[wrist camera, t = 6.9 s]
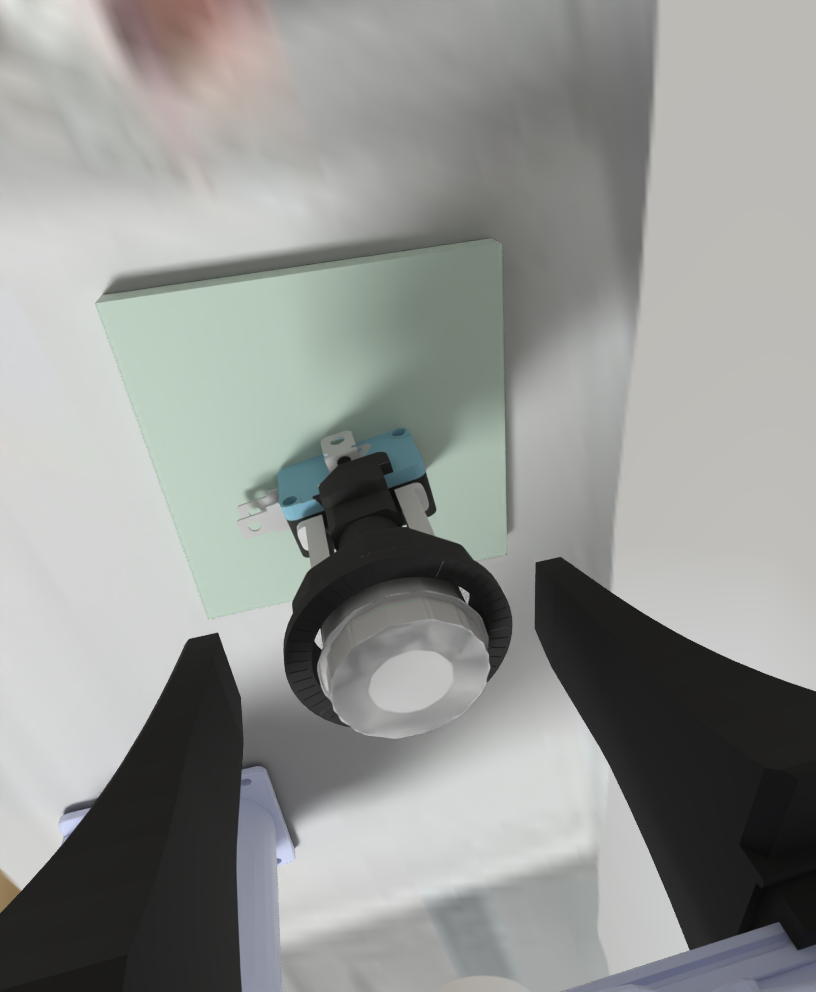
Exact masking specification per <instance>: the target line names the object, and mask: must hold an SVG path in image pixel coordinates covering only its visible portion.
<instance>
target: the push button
mask: <svg viewBox="0 0 816 992" xmlns="http://www.w3.org/2000/svg"><path fill="white" fill-rule="evenodd" d="M338 439H344V441H343V442H342V443H340V444H337V445H331V443H332V442H333V441H335V440H338ZM320 442H321V446H322V451H323V455H320V456H317V457H314V458H311V459H308V460H305V461H302V462H299V463H296V464H294V465H291V466H288V467H285V468H283V469H281V470H280V471H279V472H278V474H277V477H278V488H276V489H273V490H270V491H267V492H265V494H266V496H265V497H262V498H259V499H256V500H253V501H250V502H247V503H244V504H241V505H238V507H237V510H238V512H239V514H240V516H241V518H242V519H239V520H238V521H237V526H238V528H239V530H240V532H241V534H242V535H243V537H244V539H250V538H253V537H256V536H259V535H262V534H265V533H268V532H271V531H274V530H277V532H278V533H280V532H283V531H285V530H288V529H291V531H292V533H293V535H294V538H295V540H296V542H297V544H298V547H299V549H300V551H301V553H302V555H303V557H306V558H310V563H311V569H310V570H309V571H308V572H307V573H306V575H305V577H304V579H303V581H302V583H301V585H300V587H299V589H298V591H297V593H296V595H295V597H294V599H293V602H292V608H293V614H292V616H291V618H290V621H289V623H288V626H287V629H286V632H285V638H284V665H285V672H286V676H287V680H288V682H289V684H290V687H291V689H292V690H293V692H294V694H295V695H296V697H297V698H298V699H299V700H300V701H301V702H302V703H303V704H304V705H305V706H306V707H307V708H308V709H309V710H311V711H312V712H314V713H315V714H316V715H318V716H320V717H322V718H324V719H326V720H328V721H330V722H333V723H336V724H339V725H342V726H346V727H351V728H353V729H354V730H355V731H356V732H360V733H363V734H364V735H368V736H377V737H385V738H390V739H394V738H395V739H398V738H403V737H408V736H413V735H418V734H422V733H427V732H431V731H433V730H435V729H437V728H439V727H441V726H442V725H444V724H446V723H448V722H450V721H452V720H454V719H455V718H457V717H459V716H461V715H462V714H463V713H464V712H465V711H466V710H467V709H468V708H469V706H470V705H471V704H472V703H473V702H474V701H475V700H476V699H477V698H478V697H479V695H480V694H481V693H482V691H483V688H484V687H485V686H486V683H487V682H488V681H489V680H490V679H491V677H492V676H493V675H494V673H495V672H496V671H497V669H498V668H499V666H500V664H501V663H502V661H503V659H504V657H505V655H506V653H507V650H508V647H509V644H510V640H511V635H512V615H511V610H510V606H509V604H508V601H507V599H506V597H505V595H504V593H503V591H502V589H501V588H500V586H499V584H498V582H497V581H496V580H495V578H494V577H493V576H492V574H491V573H490V572H489V571H488V570H486V569H485V568H484V567H483V566H482V565H480V564H479V563H478V562H476V561H474V560H473V558H472V557H471V556H470V555H469V553H468V552H467V551H466V549H465V548H464V547H463V546H462V545H461V544H458V543H455V542H452V541H449V540H446V539H443V538H439V537H436V536H435V534H434V531H433V529H432V527H431V525H430V523H429V520H428V518H427V517H430V516H432V515H433V514H435V512H436V510H437V509H436V505H435V502H434V498H433V495H432V491H431V488H430V484H429V480H428V477H427V473H426V470H425V466H424V463H423V459H422V456H421V454H420V452H419V450H418V448H417V447H416V445H415V443H414V441H413V439H412V437H411V435H410V433H409V431H408V429H406V428H398V429H394V430H391V431H388V433H385V434H382V435H379V436H376V437H373V438H370V439H367V440H364V441H362V442H359V443H356V444H355V441H354V438H353V435H352V432H351V431H343V432H340V433H337V434H334V435H331V436H328V437H325V438H324V439H323V440H321V441H320ZM251 507H258V508H259V509H260V510H261V512H260V513H257V514H254V515H251V514H249V512H248V511H249V509H250V508H251ZM257 521H258V522H259V523H260V524H261V527H260V529H258V530H251V529H250V528H249V524H251V523H254V522H257ZM404 525H407V527H402V526H404ZM335 549H336V552H335V553H334V550H335ZM458 586H459V587H461V588H463V589H465V590H466V591H467V592H469V593H470V598H469V603H468V605H467V604H466V602H465V600H464V598H463V596H462V594H461V591H460V589H459V587H458ZM319 629H321V636H322V642H323V649H322V650H321V649H320V648H319V647H318V646H317V645H316V643H315V642H314V640H315V637H316V635H317V633H318V631H319Z"/></svg>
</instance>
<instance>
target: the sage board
mask: <svg viewBox="0 0 816 992" xmlns="http://www.w3.org/2000/svg"><path fill="white" fill-rule="evenodd" d="M95 305H96V308H97V311H98V314H99V316H100V319H101V322H102V325H103V328H104V330H105V333H106V336H107V339H108V342H109V344H110V347H111V350H112V353H113V355H114V358H115V361H116V364H117V367H118V369H119V372H120V375H121V378H122V381H123V383H124V386H125V389H126V392H127V395H128V397H129V400H130V403H131V406H132V408H133V411H134V414H135V417H136V420H137V422H138V425H139V428H140V431H141V434H142V436H143V439H144V442H145V445H146V448H147V450H148V453H149V456H150V459H151V461H152V464H153V467H154V470H155V473H156V475H157V478H158V481H159V484H160V487H161V489H162V492H163V495H164V498H165V500H166V503H167V506H168V509H169V512H170V514H171V517H172V520H173V523H174V526H175V528H176V531H177V534H178V537H179V540H180V542H181V545H182V548H183V551H184V553H185V556H186V559H187V562H188V565H189V567H190V570H191V573H192V576H193V579H194V581H195V584H196V587H197V590H198V593H199V595H200V598H201V601H202V604H203V606H204V609H205V612H206V615H207V618H208V619H213V618H218V617H222V616H227V615H231V614H236V613H241V612H245V611H250V610H254V609H259V608H264V607H268V606H273V605H277V604H282V603H287V602H291V601H293V599H294V597H295V595H296V593H297V591H298V589H299V587H300V585H301V583H302V581H303V579H304V577H305V575H306V573H307V572H308V571H309V570H310V569H311V563H310V558H306V557H303V555H302V553H301V551H300V549H299V547H298V544H297V542H296V540H295V538H294V535H293V533H292V531H291V529H288V530H285V531H283V532H280V533H278V532H277V530H274V531H271V532H268V533H265V534H262V535H259V536H256V537H253V538H250V539H244V537H243V535H242V534H241V532H240V530H239V528H238V526H237V521H238V520H239V519H242V518H241V516H240V514H239V512H238V510H237V507H238V505H241V504H244V503H247V502H250V501H253V500H256V499H259V498H262V497H265V496H266V494H265V492H267V491H270V490H273V489H276V488H278V477H277V474H278V472H279V471H280V470H281V469H283V468H285V467H288V466H291V465H294V464H296V463H299V462H302V461H305V460H308V459H311V458H314V457H317V456H320V455H323V451H322V446H321V442H320V441H321V440H323V439H324V438H325V437H328V436H331V435H334V434H337V433H340V432H343V431H351V432H352V435H353V438H354V441H355V444H356V443H359V442H362V441H364V440H367V439H370V438H373V437H376V436H379V435H382V434H385V433H388V431H391V430H394V429H398V428H406V429H408V431H409V433H410V435H411V437H412V439H413V441H414V443H415V445H416V447H417V448H418V450H419V452H420V454H421V456H422V459H423V463H424V466H425V470H426V473H427V477H428V480H429V484H430V488H431V491H432V495H433V498H434V502H435V505H436V509H437V510H436V512H435V514H433V515H432V516H430V517H427V518H428V520H429V523H430V525H431V527H432V529H433V531H434V534H435V536H436V537H439V538H443V539H446V540H449V541H452V542H455V543H458V544H461V545H462V546H463V547H464V548H465V549H466V551H467V552H468V553H469V555H470V556H471V557H472V558H473V560H474V561H480V560H485V559H489V558H494V557H498V556H503V555H507V519H506V457H505V394H504V332H503V269H502V243H500V242H498V241H496V240H494V239H492V238H489V239H482V240H475V241H469V242H462V243H455V244H448V245H441V246H434V247H428V248H421V249H414V250H407V251H400V252H393V253H387V254H380V255H373V256H366V257H359V258H352V259H346V260H339V261H332V262H325V263H318V264H311V265H305V266H298V267H291V268H284V269H277V270H270V271H264V272H257V273H250V274H243V275H236V276H229V277H223V278H216V279H209V280H202V281H195V282H188V283H182V284H175V285H168V286H161V287H154V288H147V289H141V290H134V291H127V292H120V293H113V294H106V295H102V296H101V297H100V298H99V299H98V300H97V301H96V303H95ZM343 441H344V439H338V440H335V441H333V442H332V443H331V445H337V444H340V443H342V442H343ZM248 512H249V514H251V515H254V514H257V513H260V512H261V510H260V509H259V508H258V507H251V508H250V509H249V511H248ZM260 527H261V524H260V523H259V522H258V521H257V522H254V523H251V524H249V528H250V529H251V530H258V529H260ZM402 527H407V525H404V526H402ZM335 552H336V549H335V550H334V553H335Z"/></svg>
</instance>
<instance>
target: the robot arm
mask: <svg viewBox="0 0 816 992" xmlns="http://www.w3.org/2000/svg"><path fill="white" fill-rule="evenodd" d="M535 630H536V632H537V635H538V637H539V639H540V642H541V644H542V647H543V649H544V651H545V653H546V656H547V658H548V660H549V662H550V664H551V667H552V668H553V670H554V672H555V673H556V675H557V677H558V679H559V680H560V682H561V684H562V685H563V687H564V689H565V690H566V692H567V694H568V695H569V697H570V699H571V700H572V702H573V704H574V705H575V707H576V709H577V710H578V712H579V714H580V715H581V717H582V719H583V720H584V722H585V724H586V725H587V727H588V729H589V730H590V732H591V734H592V735H593V737H594V739H595V740H596V742H597V744H598V745H599V747H600V749H601V750H602V752H603V754H604V756H605V758H606V760H607V761H608V763H609V765H610V767H611V769H612V771H613V773H614V776H615V778H616V780H617V782H618V784H619V786H620V788H621V790H622V792H623V795H624V797H625V799H626V801H627V803H628V805H629V807H630V809H631V812H632V814H633V816H634V818H635V821H636V823H637V825H638V827H639V829H640V831H641V834H642V836H643V838H644V840H645V843H646V845H647V847H648V849H649V852H650V854H651V857H652V859H653V861H654V864H655V866H656V868H657V871H658V873H659V876H660V878H661V880H662V883H663V885H664V887H665V890H666V892H667V894H668V897H669V899H670V902H671V904H672V907H673V909H674V912H675V914H676V917H677V919H678V922H679V924H680V927H681V929H682V932H683V934H684V937H685V939H686V942H687V944H688V947H689V949H690V951H687V952H684V953H680V954H678V955H674V956H671V957H668V958H665V959H662V960H658V961H655V962H652V963H649V964H646V965H643V966H640V967H637V968H633V969H631V970H627V971H624V972H621V973H618V974H615V975H611V976H608V977H605V978H602V979H599V980H596V981H593V982H590V983H586V984H583V985H580V986H577V987H574V988H571V989H568V990H565V991H561V992H816V691H813V690H810V689H807V688H804V687H801V686H798V685H795V684H792V683H789V682H786V681H783V680H781V679H778V678H775V677H773V676H770V675H767V674H764V673H762V672H760V671H757V670H755V669H752V668H750V667H748V666H745V665H743V664H740V663H738V662H735V661H733V660H731V659H729V658H726V657H724V656H722V655H720V654H718V653H716V652H714V651H712V650H709V649H707V648H705V647H703V646H701V645H699V644H697V643H695V642H693V641H691V640H689V639H687V638H685V637H683V636H682V635H680V634H678V633H676V632H674V631H673V630H671V629H669V628H667V627H666V626H664V625H662V624H661V623H659V622H657V621H655V620H654V619H652V618H650V617H649V616H647V615H645V614H643V613H642V612H640V611H639V610H637V609H636V608H634V607H633V606H631V605H630V604H628V603H626V602H625V601H623V600H622V599H620V598H619V597H617V596H616V595H614V594H613V593H611V592H610V591H608V590H607V589H606V588H604V587H603V586H601V585H600V584H598V583H597V582H596V581H594V580H593V579H591V578H590V577H588V576H587V575H586V574H584V573H583V572H581V571H580V570H579V569H577V568H576V567H574V566H573V565H572V564H570V563H569V562H567V561H566V560H564V559H563V558H561V557H558V558H554V559H549V560H545V561H540V562H536V573H535ZM242 758H243V725H242V709H241V697H240V694H239V691H238V688H237V685H236V683H235V680H234V677H233V674H232V671H231V668H230V666H229V663H228V660H227V657H226V654H225V651H224V648H223V646H222V643H221V640H220V637H219V634H218V633H214V634H210V635H205V636H201V637H196V638H192V639H189V640H188V641H187V642H186V644H185V646H184V648H183V650H182V652H181V655H180V657H179V659H178V661H177V663H176V665H175V667H174V670H173V672H172V674H171V676H170V678H169V680H168V682H167V684H166V686H165V688H164V690H163V692H162V694H161V696H160V698H159V699H158V701H157V703H156V705H155V707H154V709H153V711H152V712H151V714H150V716H149V718H148V720H147V722H146V723H145V725H144V727H143V729H142V730H141V732H140V734H139V735H138V737H137V739H136V740H135V742H134V744H133V745H132V747H131V749H130V750H129V752H128V754H127V755H126V757H125V759H124V760H123V762H122V763H121V765H120V766H119V768H118V770H117V771H116V773H115V774H114V776H113V777H112V779H111V780H110V782H109V783H108V784H107V786H106V787H105V789H104V790H103V792H102V793H101V794H100V796H99V797H98V799H97V800H96V801H95V803H94V804H93V806H92V807H91V808H87V809H83V810H79V811H75V812H71V813H67V814H65V815H63V816H62V817H60V820H59V824H58V829H59V830H60V832H61V833H62V835H63V836H64V838H63V842H62V845H61V847H60V848H59V849H58V850H57V851H56V853H55V854H54V855H53V856H52V857H51V859H50V860H49V861H48V862H47V863H46V864H45V865H44V867H43V868H42V869H41V870H40V871H39V872H38V873H37V874H36V875H35V877H34V878H33V879H32V880H31V881H30V882H29V883H28V884H27V885H26V887H25V888H24V889H23V890H22V891H21V892H20V893H19V894H18V895H17V896H16V897H15V899H14V900H13V901H12V902H11V903H10V904H9V905H8V906H7V907H6V908H5V909H4V910H3V911H2V912H1V913H0V992H282V978H281V953H280V928H279V902H278V877H277V866H280V865H283V864H287V863H290V862H292V861H293V860H294V859H295V849H294V846H293V843H292V840H291V838H290V835H289V832H288V829H287V826H286V823H285V821H284V818H283V815H282V812H281V809H280V806H279V804H278V801H277V798H276V795H275V792H274V789H273V787H272V784H271V781H270V778H269V775H268V772H267V770H266V769H265V768H263V767H261V766H255V767H251V768H247V769H243V770H242Z"/></svg>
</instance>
